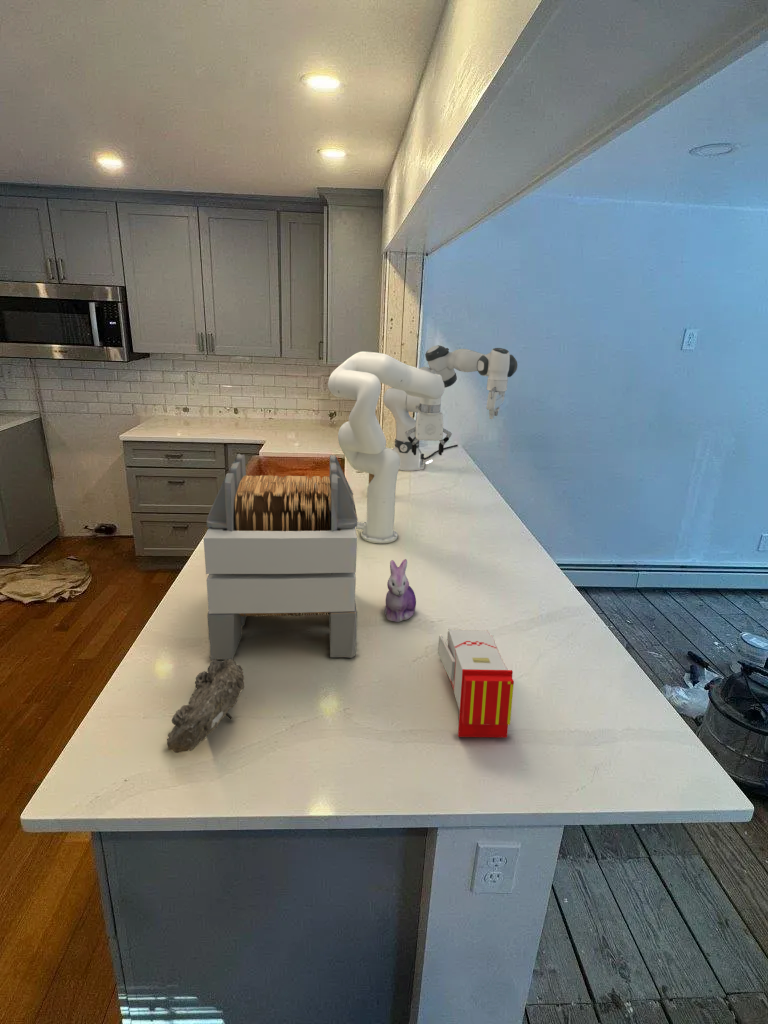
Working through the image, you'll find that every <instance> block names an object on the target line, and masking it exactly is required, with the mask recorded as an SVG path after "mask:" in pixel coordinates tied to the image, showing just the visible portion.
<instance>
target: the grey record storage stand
mask: <svg viewBox="0 0 768 1024" xmlns="http://www.w3.org/2000/svg"><path fill="white" fill-rule="evenodd" d="M246 468H247V467H246V456H245V454H241V453H237V454H236V456H235V459H234V461H232V463H231V466H230V468H229V470H228V472H227V473H226V474H225V476H224V479H223V481H222V484H221V485H220V488H219V490H218V492H217V495H216V496H215V499H214V501H213V504H212V506H211V508H210V509H209V512H208V515H207V518H206V528H207V530H206V532H205V534H204V536H203V549H204V564H205V565H204V567H205V574H206V575H207V577H206V591H207V592H206V593H207V594H206V595H207V607H208V610H207V615H206V617H207V634H208V641H209V651H210V656H209V659H210V661H212V660H227V659H228V660H231V659H232V660H234V658H235V654H236V651H237V649H238V647H239V645H240V642H241V639H242V637H243V627H244V626H245V625H246V624H245V623H246V620H247V617H267V616H268V617H271V616H272V617H273V616H275V617H276V616H277V617H278V616H279V617H280V616H281V617H286V616H295V617H296V616H300V617H301V616H318V615H319V616H321V615H322V616H323V615H326V616H328V625H329V657H330V658H350V659H352V658H354V657H355V656H356V655H357V630H358V628H357V626H358V625H357V624H358V610H357V602H356V587H357V586H356V585H357V583H356V582H357V577H356V573H357V551H358V550H357V549H358V548H357V547H358V536H357V529H356V526H357V522H359V521H358V515H357V509H356V503H355V498H354V493H353V490H352V487H351V486H350V484H349V481H348V479H347V477H346V475H345V473H344V471H343V469H342V467H341V464H340V462H339V459H338V458H337V455H336V454H329V475H325V476H322V477H321V476H319V475H313V476H312V477H309V476H307V475H284V476H281V475H280V476H279V475H275V476H274V475H251V474H250V475H247V469H246Z"/></svg>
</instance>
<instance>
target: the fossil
mask: <svg viewBox="0 0 768 1024" xmlns="http://www.w3.org/2000/svg"><path fill="white" fill-rule="evenodd" d="M243 670H244V669H243V667H242V665H240V664H237V662H236V661H235V660H234V659H233V660H232V659H223V661H222V660H218V659H215V660H210V663H209V665H208V666H207V671H201V672H199V673H198V674H197V675H196V676H195V680H194V684H195V685H194V687H195V689H194V690H193V693H192V694H191V697H190V698H189V700H188V704H184V705H182V706H181V707H180V709H177V710H176V711H175V713H174V715H173V716H172V718H171V723H172V724H173V727H172V730H171V731H170V732H168V734H167V738H166V741H167V742H166V745H167V749H168V750H169V751H173V752H174V753H176V754H178V753H182V752H188V751H189V752H192V751H193V750H195V748H196V747H197V746H199V744H200V743H201V742H203V741H204V740H205V739H206V738H207V737H208V736H209V735H210V734H211V733H212V732H214V730H215V729H217V727H218V726H219V724H220V722H221V721H222V720H223V719H224V718H225V716H226V717H227V719H229V720H233V717H232V715H230V714H229V710H230V709H231V708H234V706H235V704H236V703H237V702H238V699H239V697H240V695H241V693H242V691H243V690H245V689H244V688H245V675H244V671H243Z"/></svg>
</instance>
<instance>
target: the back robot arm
mask: <svg viewBox="0 0 768 1024" xmlns="http://www.w3.org/2000/svg"><path fill="white" fill-rule="evenodd" d="M424 355H425V360H426V362H427V363H428V364H427V365H428V367H427V366H421V367H418V369H421V370H425V371H428V372H430V373H433V374H439V375H441V376H442V380H443V382H444V386H445V387H444V389H445V388H449V387H451V386H453V385H454V384H455V383H456V382H457V380H458V377H457V372H455V370H456V371H459V372H461V373H473V372H475V373H476V372H477V373H478V374H479V375H480V376H482V377H487V383H486V390H487V391H488V395H487V399H486V400H487V401H486V410H488V415H489V417H488V419H489V420H494V418H495V417H498V416H499V411H500V407H501V406H502V405H503V403H504V401H505V395H506V392H507V390H508V382H509V378H511V377H512V376H514V374H515V373H516V372H517V371H518V361H517V359H516V357H515V356H514V355H513V354H510V351H509V350H508V349H506V348H502V347H495V348H492V349H491V351H490V352H488V353H487V354H486V353H481V352H478V351H475V350H472V349H469V348H459V349H455V350H453V351H450V349H449V348H448V347H445V346H443V345H441V344H440V345H438V344H437V345H433V346H431V347H429V349H427V350H426V352H425V354H424ZM382 398H383V399H382V400H383V404H384V406H385V407H386V408H387V409H388V411H390V412H391V414H392V416H393V418H394V421H395V439H394V447H393V448H391V449H392V450H394V451H396V452H397V453H398V455H399V456H400V467H399V471H406V472H412V471H420V470H422V471H423V470H425V465H427V464H430V463H432V462H433V459H430V458H431V457H433V456H434V455H435V454H437V453H438V450H439V449H438V450H435V451H434V452H432V453H431V454H429V455H427V456H426V457H425V454H424V453H422V451H421V449H420V440H418V441H417V442H416V445H417V447H416V455H414V454H413V452H412V443H411V442H410V441H409V440H408V438H407V436H406V434H405V432H406V431H408V430H410V429H412V428H414V427H415V423H416V419H414V418H413V417H411V415H410V413H416V414H417V413H418V412H419V411H420V410H419V409H416V405H419V404H420V397H414V396H410V395H408V394H406V392H405V391H402V390H398V389H395V388H392V387H389V388H387V389H386V391H385V392H384V393H383V397H382ZM410 437H411V438H412V439H413V438H414V437H415V432H413V433H411V434H410ZM458 446H459V444H453V445H450V446H446V447H444V449H443V451H444V450H447V449H452V448H455V447H458ZM428 459H430V460H428ZM425 460H428V461H425Z"/></svg>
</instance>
